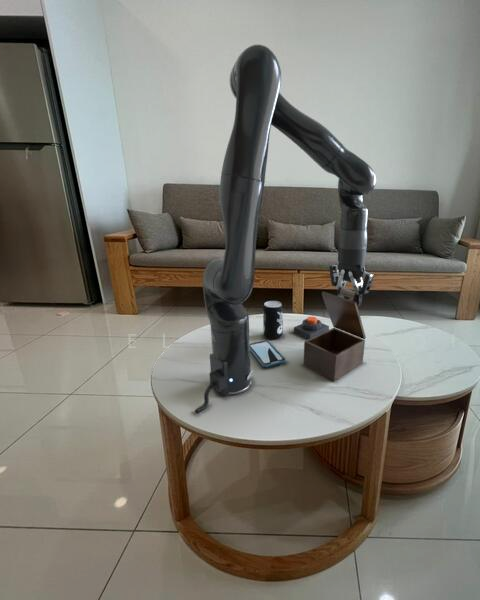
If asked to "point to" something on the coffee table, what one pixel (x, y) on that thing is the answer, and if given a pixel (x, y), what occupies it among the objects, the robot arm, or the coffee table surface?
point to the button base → (310, 329)
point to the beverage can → (273, 320)
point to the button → (311, 320)
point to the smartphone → (266, 353)
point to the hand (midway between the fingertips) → (348, 303)
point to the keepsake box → (333, 353)
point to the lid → (344, 312)
